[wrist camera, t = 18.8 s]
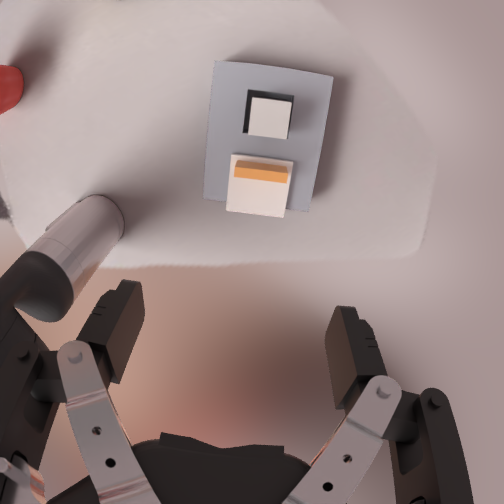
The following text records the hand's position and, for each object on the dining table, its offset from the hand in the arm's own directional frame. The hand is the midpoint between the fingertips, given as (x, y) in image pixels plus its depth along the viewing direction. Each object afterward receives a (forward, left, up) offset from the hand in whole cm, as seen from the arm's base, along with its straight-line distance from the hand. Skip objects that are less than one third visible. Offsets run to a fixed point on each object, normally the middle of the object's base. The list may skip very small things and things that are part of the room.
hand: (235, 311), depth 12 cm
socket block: (+1, +2, -32) cm, 32 cm away
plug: (+1, +5, -32) cm, 32 cm away
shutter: (+1, -4, -28) cm, 28 cm away
